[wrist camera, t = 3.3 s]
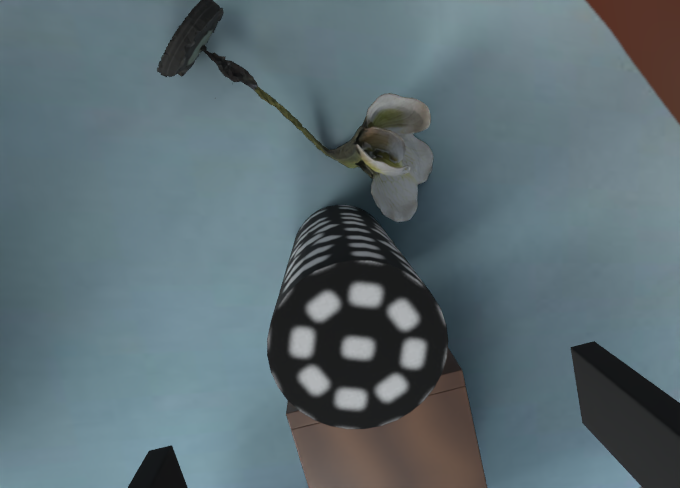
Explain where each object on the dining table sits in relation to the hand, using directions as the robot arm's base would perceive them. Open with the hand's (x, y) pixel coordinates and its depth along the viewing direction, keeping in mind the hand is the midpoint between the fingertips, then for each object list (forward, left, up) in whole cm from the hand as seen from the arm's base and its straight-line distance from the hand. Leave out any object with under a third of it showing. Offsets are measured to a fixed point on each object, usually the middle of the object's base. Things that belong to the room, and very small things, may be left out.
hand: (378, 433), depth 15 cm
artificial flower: (+1, +12, -27) cm, 29 cm away
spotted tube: (0, 0, -27) cm, 27 cm away
